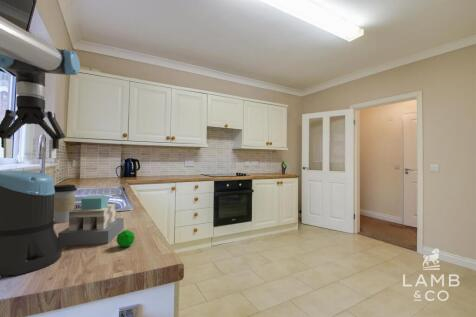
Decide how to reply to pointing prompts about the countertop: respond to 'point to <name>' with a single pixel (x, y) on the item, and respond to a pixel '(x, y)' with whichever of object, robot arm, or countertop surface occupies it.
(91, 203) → the teal block
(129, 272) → the countertop surface
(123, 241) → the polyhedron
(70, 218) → the pallet
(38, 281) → the countertop surface
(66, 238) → the dock
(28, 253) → the robot arm
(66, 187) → the coffee cup
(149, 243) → the countertop surface
